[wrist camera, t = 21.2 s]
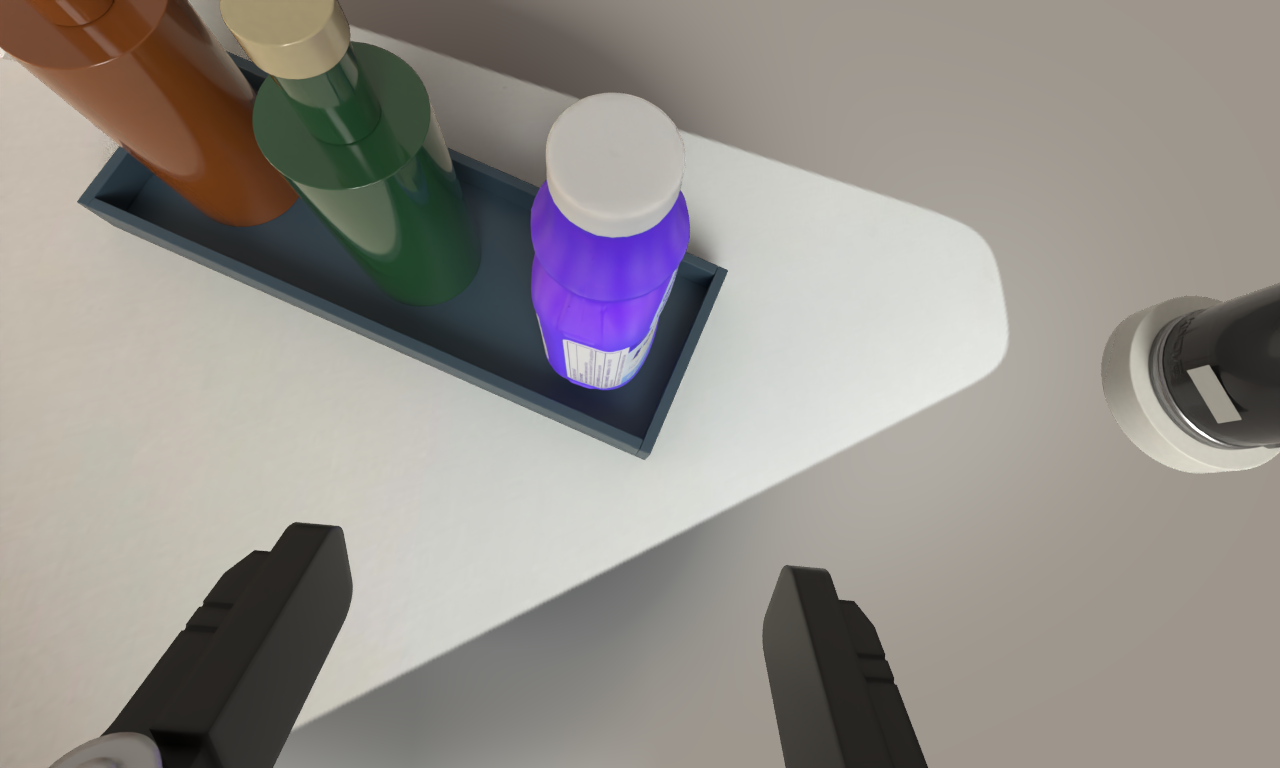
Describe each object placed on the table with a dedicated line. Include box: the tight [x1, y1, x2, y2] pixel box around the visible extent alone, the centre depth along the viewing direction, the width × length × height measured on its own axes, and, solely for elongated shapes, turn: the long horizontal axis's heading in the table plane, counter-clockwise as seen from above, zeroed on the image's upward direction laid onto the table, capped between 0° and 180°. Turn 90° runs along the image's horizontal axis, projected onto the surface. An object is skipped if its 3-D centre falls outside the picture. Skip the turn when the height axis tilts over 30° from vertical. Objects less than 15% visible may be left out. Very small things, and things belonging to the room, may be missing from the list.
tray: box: [77, 51, 728, 460], centre depth 34 cm, size 32×11×3 cm, turn 67°
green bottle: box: [220, 0, 482, 307], centre depth 26 cm, size 6×6×17 cm
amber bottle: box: [0, 0, 299, 227], centre depth 26 cm, size 6×6×17 cm
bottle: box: [531, 92, 690, 390], centre depth 26 cm, size 7×6×17 cm
